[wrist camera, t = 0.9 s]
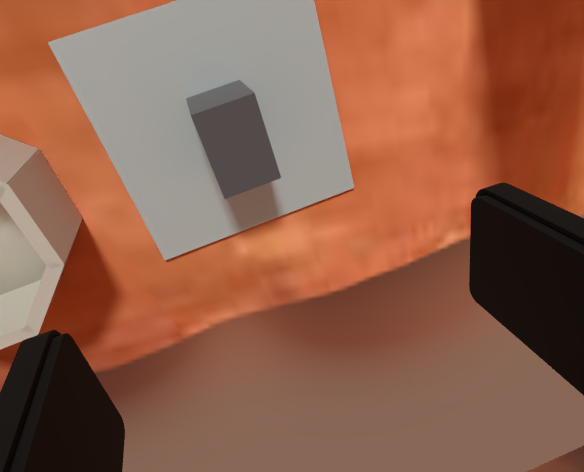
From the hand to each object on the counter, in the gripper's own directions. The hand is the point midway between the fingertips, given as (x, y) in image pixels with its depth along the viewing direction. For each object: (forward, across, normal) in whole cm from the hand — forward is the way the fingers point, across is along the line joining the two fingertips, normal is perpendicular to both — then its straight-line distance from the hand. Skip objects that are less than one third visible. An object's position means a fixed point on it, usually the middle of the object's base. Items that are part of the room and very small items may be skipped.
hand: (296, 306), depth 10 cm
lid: (+21, -1, +1) cm, 21 cm away
